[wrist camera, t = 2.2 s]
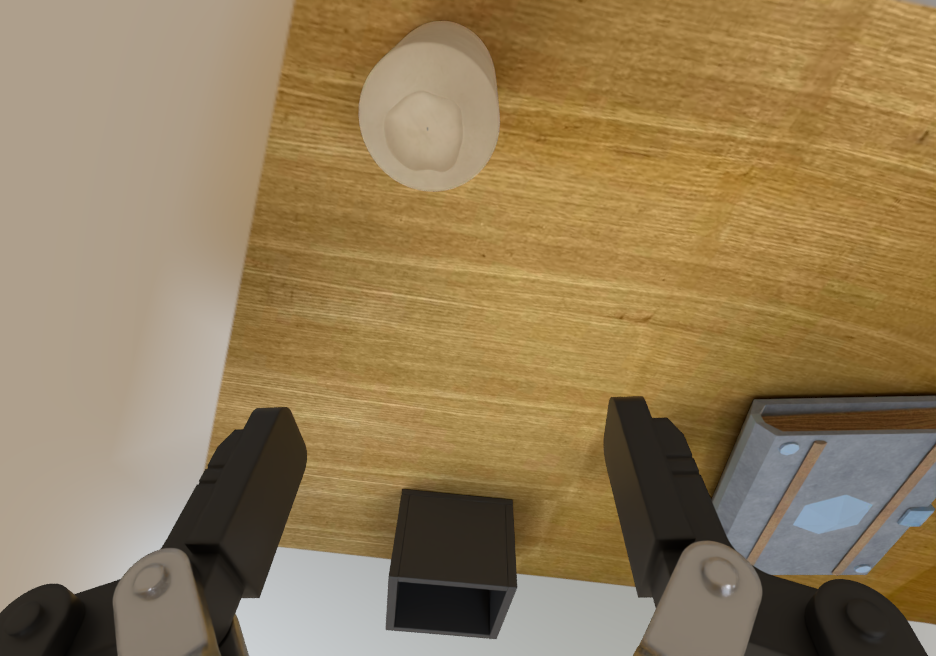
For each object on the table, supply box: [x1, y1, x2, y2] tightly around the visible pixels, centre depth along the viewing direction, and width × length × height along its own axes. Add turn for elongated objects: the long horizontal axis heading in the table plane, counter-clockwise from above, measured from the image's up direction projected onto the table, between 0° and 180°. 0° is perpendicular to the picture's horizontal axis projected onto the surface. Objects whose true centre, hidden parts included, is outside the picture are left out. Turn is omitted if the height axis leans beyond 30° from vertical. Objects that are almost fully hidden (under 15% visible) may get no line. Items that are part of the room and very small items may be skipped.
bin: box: [386, 489, 517, 639], centre depth 48 cm, size 11×11×9 cm
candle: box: [359, 21, 500, 192], centre depth 22 cm, size 6×6×10 cm
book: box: [711, 396, 936, 576], centre depth 43 cm, size 21×16×5 cm
